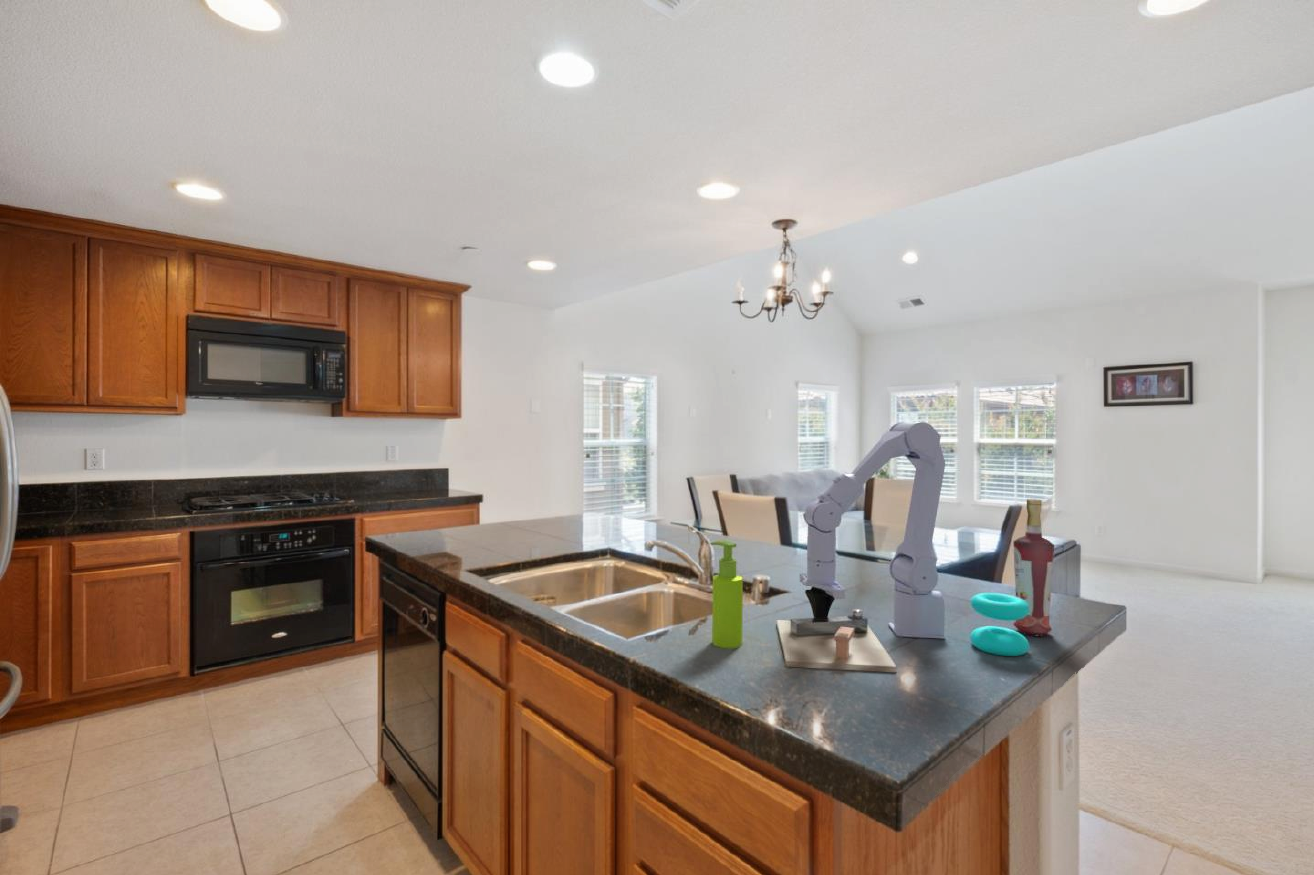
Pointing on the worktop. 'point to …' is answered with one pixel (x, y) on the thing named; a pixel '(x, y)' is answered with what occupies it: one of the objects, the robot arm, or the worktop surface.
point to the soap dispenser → (727, 601)
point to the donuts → (999, 637)
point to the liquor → (1034, 573)
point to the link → (829, 624)
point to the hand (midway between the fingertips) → (820, 624)
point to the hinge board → (833, 651)
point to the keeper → (843, 641)
